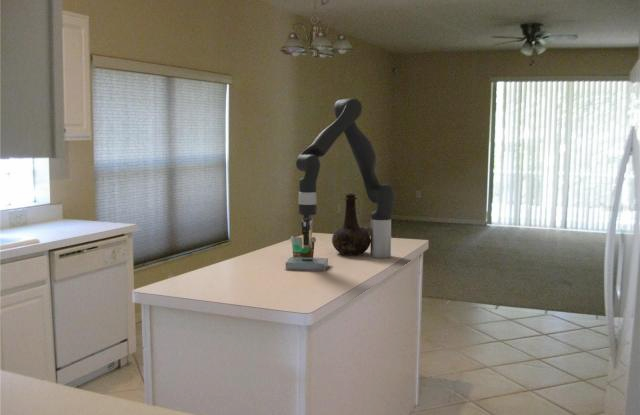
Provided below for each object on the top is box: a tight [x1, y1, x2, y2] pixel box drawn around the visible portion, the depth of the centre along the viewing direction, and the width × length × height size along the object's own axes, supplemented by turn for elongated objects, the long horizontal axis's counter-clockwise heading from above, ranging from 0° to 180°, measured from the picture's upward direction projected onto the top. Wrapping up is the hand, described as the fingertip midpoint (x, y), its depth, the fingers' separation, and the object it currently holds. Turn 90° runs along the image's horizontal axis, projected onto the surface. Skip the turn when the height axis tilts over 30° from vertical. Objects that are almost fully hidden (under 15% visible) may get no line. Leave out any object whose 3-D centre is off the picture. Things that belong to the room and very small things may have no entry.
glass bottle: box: [331, 193, 371, 256], centre depth 297 cm, size 18×18×28 cm
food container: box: [289, 234, 317, 258], centre depth 284 cm, size 12×6×10 cm, turn 62°
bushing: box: [301, 228, 313, 249], centre depth 265 cm, size 4×4×8 cm
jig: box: [285, 256, 329, 272], centre depth 266 cm, size 16×12×3 cm
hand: (307, 243), depth 265 cm, fingers closed on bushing, 4 cm apart
